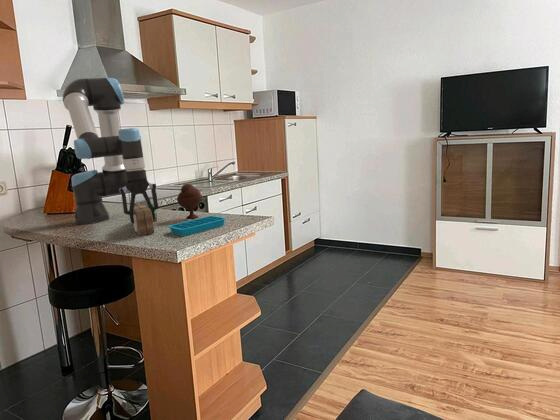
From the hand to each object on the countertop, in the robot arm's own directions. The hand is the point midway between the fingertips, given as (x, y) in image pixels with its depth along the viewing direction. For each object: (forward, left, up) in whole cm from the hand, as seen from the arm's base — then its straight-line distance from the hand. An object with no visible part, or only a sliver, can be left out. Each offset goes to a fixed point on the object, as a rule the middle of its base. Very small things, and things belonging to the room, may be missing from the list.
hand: (144, 229), depth 165 cm
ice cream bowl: (-21, +13, -1) cm, 25 cm away
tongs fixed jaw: (-4, -3, -1) cm, 5 cm away
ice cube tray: (+1, +21, -2) cm, 21 cm away
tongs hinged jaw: (-3, 0, -1) cm, 3 cm away
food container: (-21, -5, -2) cm, 22 cm away
